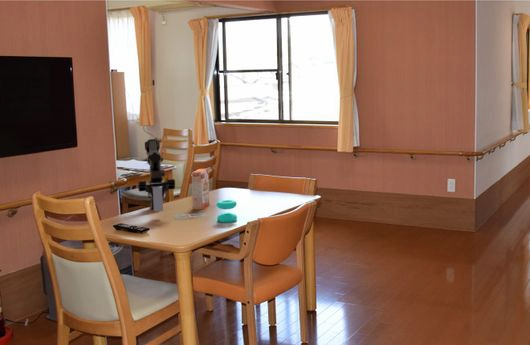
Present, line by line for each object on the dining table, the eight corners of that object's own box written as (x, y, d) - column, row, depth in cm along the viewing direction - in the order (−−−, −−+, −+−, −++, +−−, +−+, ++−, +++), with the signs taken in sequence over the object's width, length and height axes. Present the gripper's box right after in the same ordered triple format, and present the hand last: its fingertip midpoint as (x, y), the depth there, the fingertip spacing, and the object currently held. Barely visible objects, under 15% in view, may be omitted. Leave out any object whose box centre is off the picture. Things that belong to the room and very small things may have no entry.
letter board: (172, 215, 338) (172, 214, 338) (202, 212, 343) (202, 212, 343) (176, 220, 327) (176, 219, 327) (207, 217, 331) (207, 216, 331)
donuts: (224, 198, 327) (240, 200, 322) (224, 217, 329) (241, 219, 323) (212, 202, 319) (228, 203, 314) (213, 222, 320) (229, 223, 315)
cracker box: (203, 210, 350) (201, 172, 347) (192, 209, 351) (190, 172, 348) (210, 204, 364) (208, 168, 361) (200, 204, 365) (198, 168, 362)
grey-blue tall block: (153, 209, 332) (152, 186, 330) (162, 208, 333) (161, 186, 331) (154, 211, 327) (152, 188, 326) (163, 210, 328) (161, 187, 326)
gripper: (137, 165, 328) (138, 190, 319) (173, 163, 332) (176, 188, 323) (137, 178, 337) (139, 203, 328) (173, 176, 341) (176, 200, 332)
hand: (157, 198), depth 328 cm, fingers closed on grey-blue tall block, 4 cm apart
